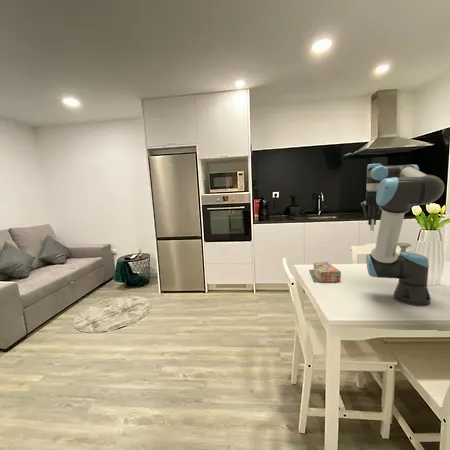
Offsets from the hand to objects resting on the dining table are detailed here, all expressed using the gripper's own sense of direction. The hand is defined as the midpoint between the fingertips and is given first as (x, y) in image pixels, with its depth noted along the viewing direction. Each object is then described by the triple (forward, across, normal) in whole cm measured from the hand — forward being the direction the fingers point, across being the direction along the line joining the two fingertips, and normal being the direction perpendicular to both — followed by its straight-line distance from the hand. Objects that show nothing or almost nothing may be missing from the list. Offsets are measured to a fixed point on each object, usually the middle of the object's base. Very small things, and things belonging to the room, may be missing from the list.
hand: (371, 230), depth 163 cm
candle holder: (+31, -22, -10) cm, 39 cm away
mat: (+30, +28, -3) cm, 41 cm away
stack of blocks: (+27, +20, -3) cm, 34 cm away
